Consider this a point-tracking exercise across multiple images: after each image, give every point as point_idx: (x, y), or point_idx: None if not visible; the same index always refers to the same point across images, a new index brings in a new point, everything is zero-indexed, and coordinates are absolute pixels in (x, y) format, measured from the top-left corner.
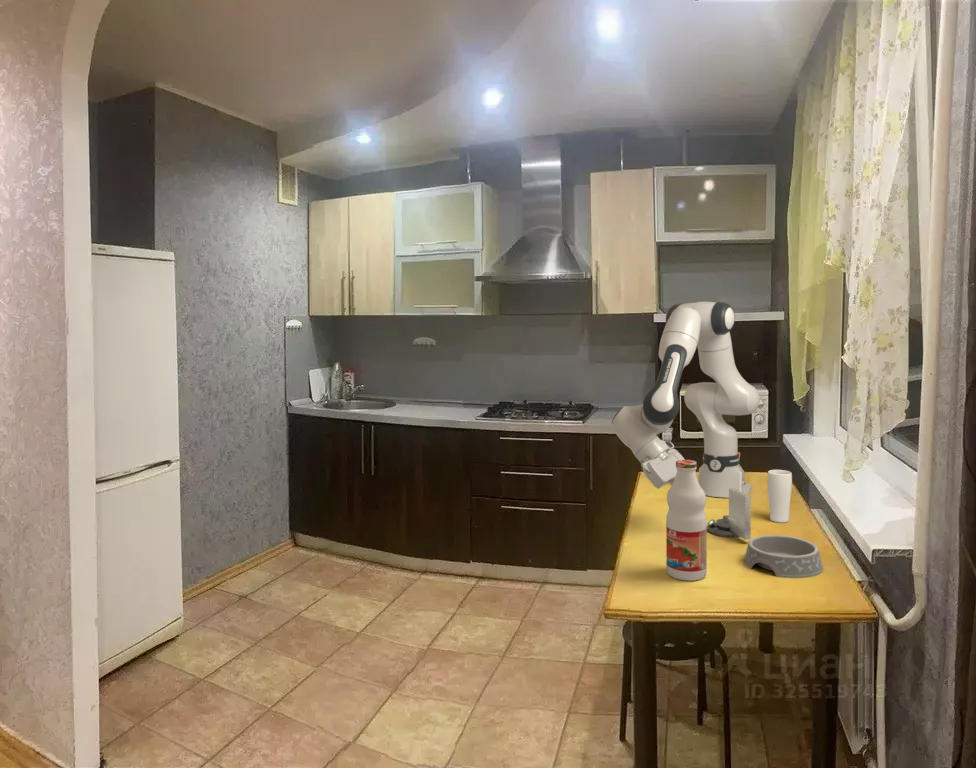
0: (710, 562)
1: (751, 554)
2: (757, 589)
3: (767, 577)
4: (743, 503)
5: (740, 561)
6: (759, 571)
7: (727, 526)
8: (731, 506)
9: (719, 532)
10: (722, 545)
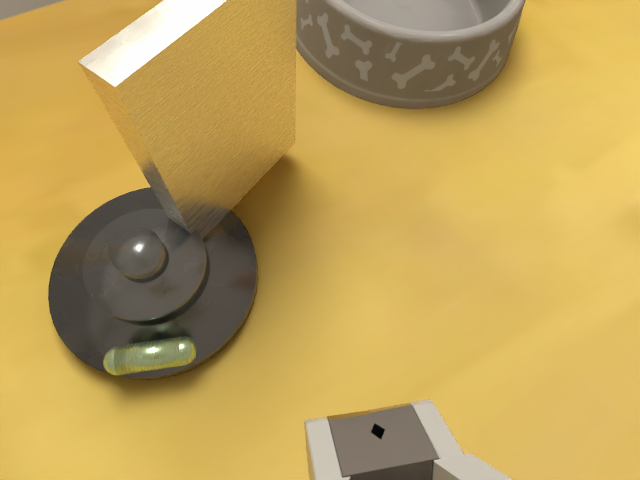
0: (567, 169)
1: (510, 34)
2: (621, 13)
3: (528, 19)
4: (282, 10)
5: (475, 105)
6: None
7: (202, 240)
8: (186, 150)
9: (254, 268)
10: (368, 212)
